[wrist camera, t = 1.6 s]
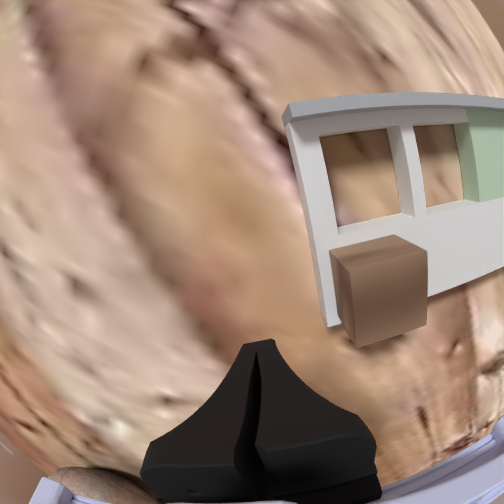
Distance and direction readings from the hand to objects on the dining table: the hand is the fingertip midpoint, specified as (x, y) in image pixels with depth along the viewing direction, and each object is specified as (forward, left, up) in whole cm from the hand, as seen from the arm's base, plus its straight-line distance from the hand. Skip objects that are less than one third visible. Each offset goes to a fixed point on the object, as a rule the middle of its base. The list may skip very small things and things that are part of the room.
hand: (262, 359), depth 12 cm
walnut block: (0, -7, -6) cm, 9 cm away
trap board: (+3, -14, -8) cm, 17 cm away
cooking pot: (-27, +27, -8) cm, 39 cm away
